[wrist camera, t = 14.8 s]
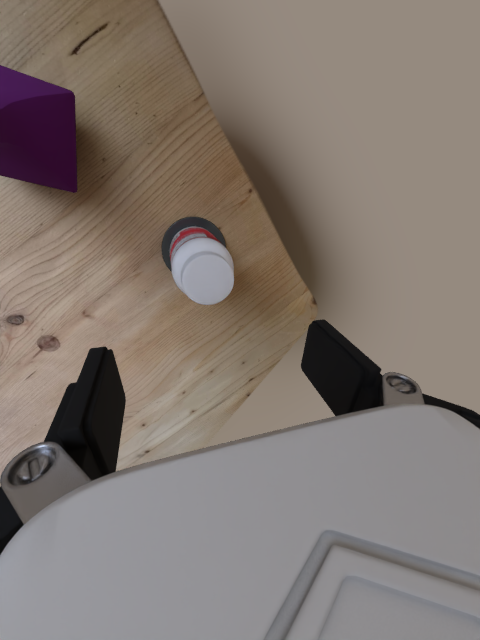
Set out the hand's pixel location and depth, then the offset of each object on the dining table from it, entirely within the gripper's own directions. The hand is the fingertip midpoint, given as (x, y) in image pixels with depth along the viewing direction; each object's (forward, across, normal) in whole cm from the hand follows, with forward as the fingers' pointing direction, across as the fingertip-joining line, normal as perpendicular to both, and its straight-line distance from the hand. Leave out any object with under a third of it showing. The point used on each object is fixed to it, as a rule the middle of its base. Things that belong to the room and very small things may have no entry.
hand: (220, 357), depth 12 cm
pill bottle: (+22, -1, +1) cm, 23 cm away
